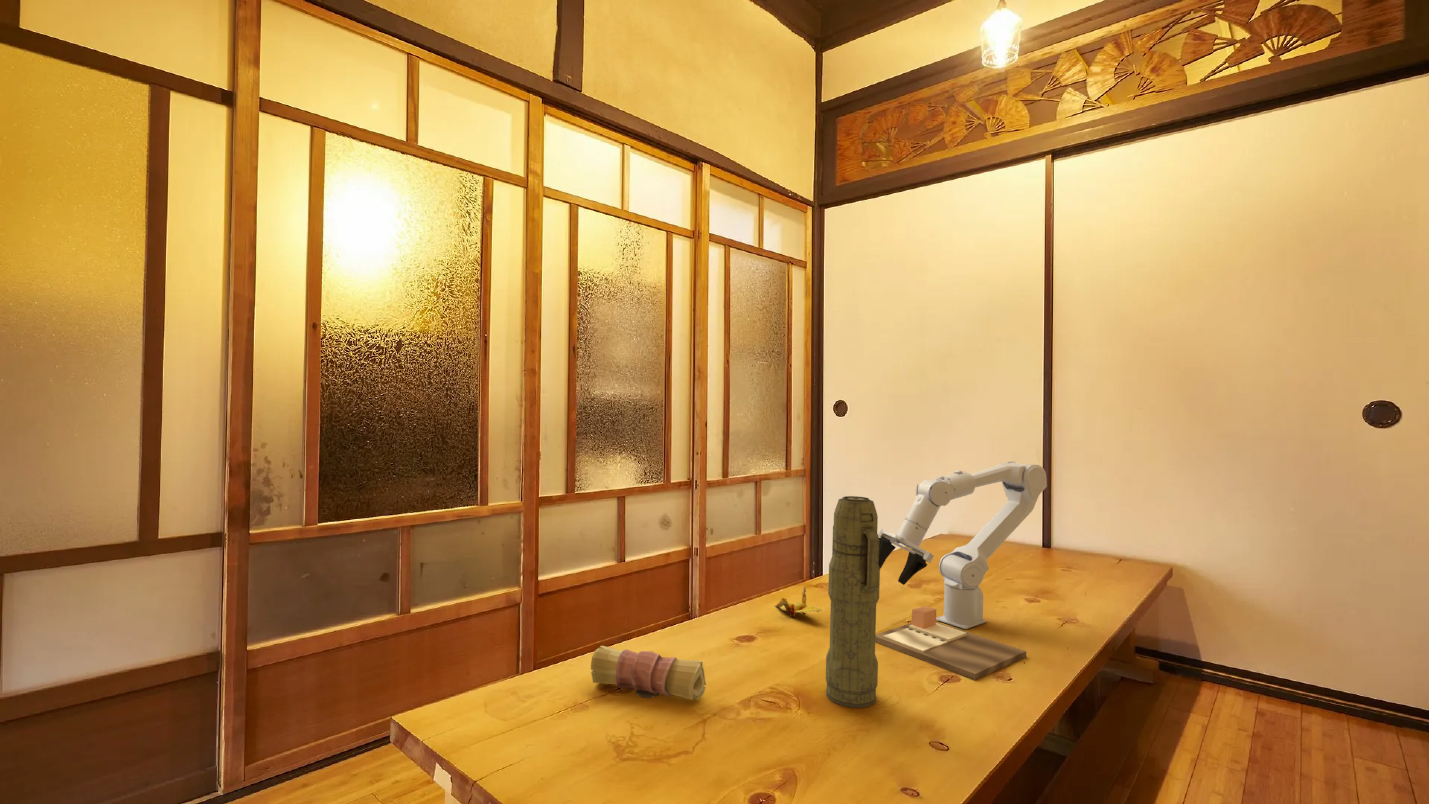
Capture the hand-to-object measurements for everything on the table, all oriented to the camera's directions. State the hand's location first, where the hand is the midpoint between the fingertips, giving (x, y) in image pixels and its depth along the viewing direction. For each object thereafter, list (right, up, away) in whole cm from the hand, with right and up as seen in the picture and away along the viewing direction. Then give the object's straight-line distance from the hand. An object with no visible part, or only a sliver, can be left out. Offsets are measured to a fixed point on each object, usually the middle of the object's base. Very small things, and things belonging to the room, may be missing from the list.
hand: (888, 576), depth 148 cm
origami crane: (-21, -12, +6) cm, 24 cm away
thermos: (-17, -11, -37) cm, 42 cm away
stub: (+9, -11, -6) cm, 16 cm away
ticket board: (+9, -12, -13) cm, 20 cm away
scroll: (-52, -11, -37) cm, 65 cm away
